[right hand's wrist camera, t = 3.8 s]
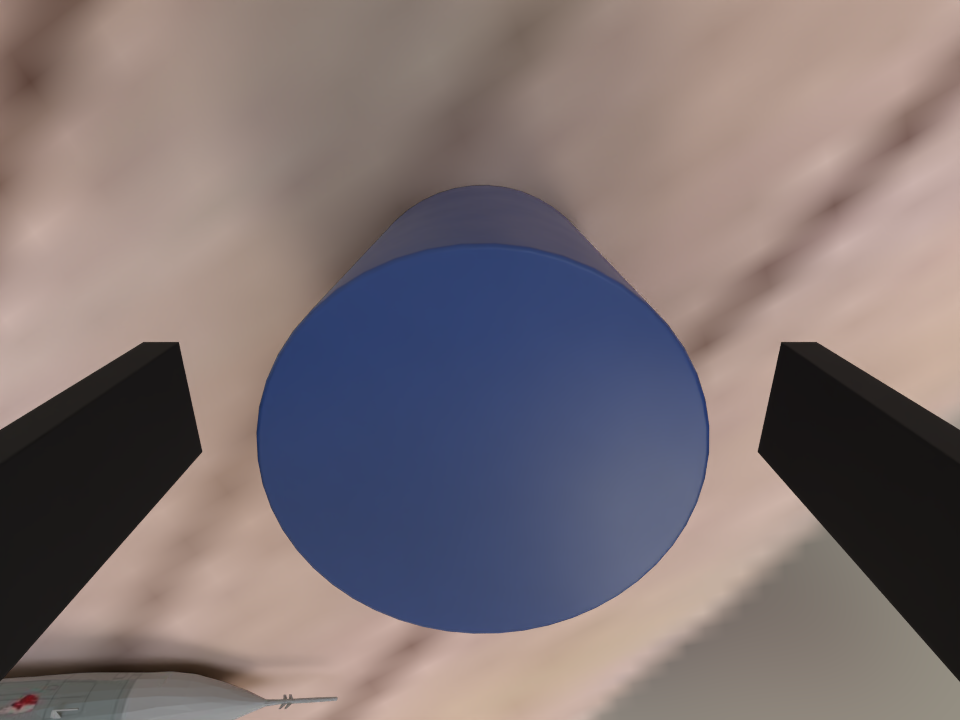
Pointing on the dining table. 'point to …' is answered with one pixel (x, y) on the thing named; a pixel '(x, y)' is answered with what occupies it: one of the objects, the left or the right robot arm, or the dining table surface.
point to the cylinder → (482, 422)
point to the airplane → (130, 697)
